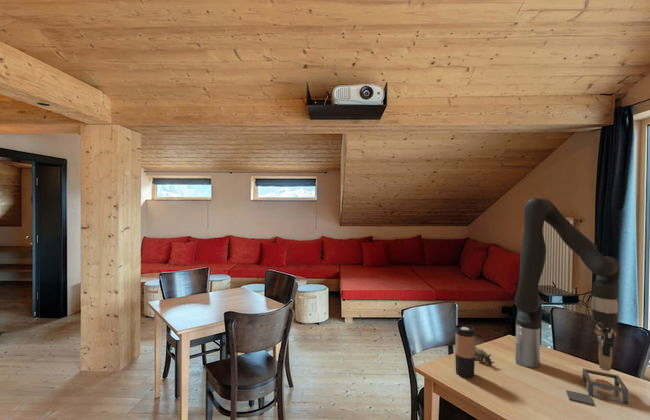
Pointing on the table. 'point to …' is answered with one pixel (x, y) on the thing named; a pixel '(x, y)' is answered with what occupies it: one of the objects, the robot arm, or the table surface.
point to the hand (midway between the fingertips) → (604, 353)
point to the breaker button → (603, 383)
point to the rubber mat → (579, 397)
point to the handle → (603, 360)
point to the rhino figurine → (482, 355)
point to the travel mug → (465, 351)
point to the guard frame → (605, 394)
